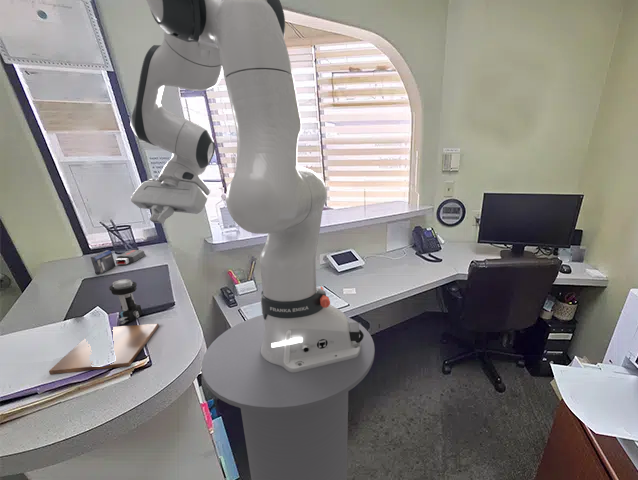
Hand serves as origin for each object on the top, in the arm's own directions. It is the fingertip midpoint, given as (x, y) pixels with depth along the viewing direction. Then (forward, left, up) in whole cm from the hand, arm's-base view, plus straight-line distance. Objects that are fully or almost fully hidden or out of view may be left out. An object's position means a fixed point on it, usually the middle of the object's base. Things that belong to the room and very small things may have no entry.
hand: (156, 221), depth 82 cm
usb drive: (+26, -39, -23) cm, 52 cm away
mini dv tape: (+29, -28, -23) cm, 46 cm away
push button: (+6, +12, -23) cm, 26 cm away
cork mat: (+5, +25, -22) cm, 34 cm away
